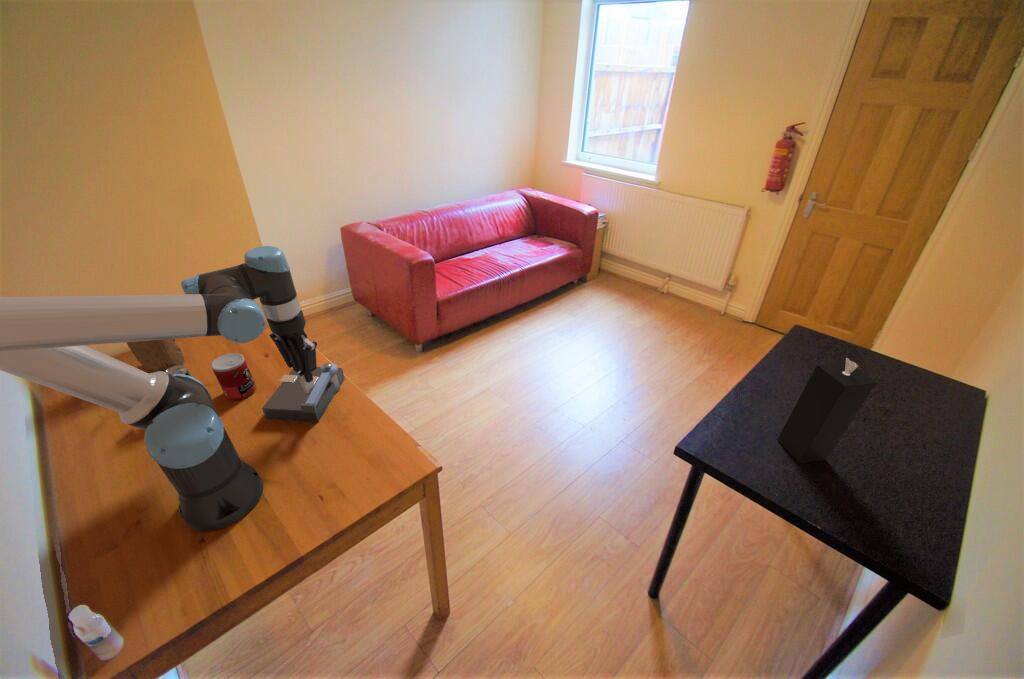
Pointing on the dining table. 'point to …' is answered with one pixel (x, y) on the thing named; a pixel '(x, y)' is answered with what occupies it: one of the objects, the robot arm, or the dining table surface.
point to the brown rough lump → (157, 354)
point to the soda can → (178, 370)
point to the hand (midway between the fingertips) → (309, 389)
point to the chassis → (300, 397)
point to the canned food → (234, 376)
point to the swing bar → (319, 389)
